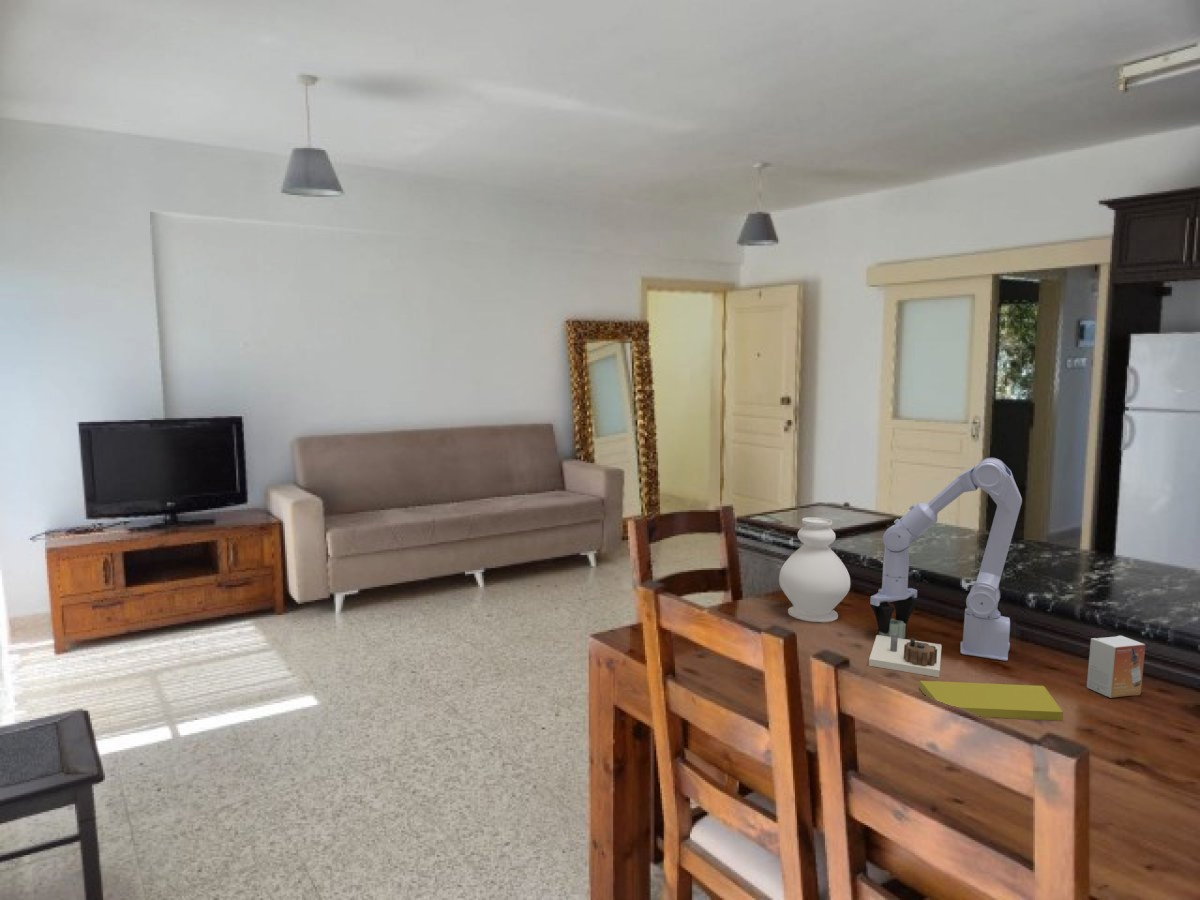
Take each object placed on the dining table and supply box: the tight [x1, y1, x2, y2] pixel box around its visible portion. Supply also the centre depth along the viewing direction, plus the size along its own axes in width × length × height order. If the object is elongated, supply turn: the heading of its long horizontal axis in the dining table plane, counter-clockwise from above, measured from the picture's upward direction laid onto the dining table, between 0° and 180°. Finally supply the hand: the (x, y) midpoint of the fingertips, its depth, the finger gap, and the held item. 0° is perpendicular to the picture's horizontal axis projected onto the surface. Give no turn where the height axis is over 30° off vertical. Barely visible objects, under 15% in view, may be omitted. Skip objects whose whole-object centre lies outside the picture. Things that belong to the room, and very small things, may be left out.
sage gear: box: [878, 618, 907, 639], centre depth 187 cm, size 6×6×3 cm
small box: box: [1086, 635, 1146, 699], centre depth 156 cm, size 8×6×10 cm
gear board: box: [868, 633, 942, 678], centre depth 172 cm, size 14×17×6 cm
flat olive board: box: [919, 680, 1064, 722], centre depth 149 cm, size 12×2×24 cm
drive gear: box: [904, 637, 937, 666], centre depth 167 cm, size 6×6×4 cm
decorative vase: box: [778, 516, 851, 623], centre depth 201 cm, size 18×18×25 cm
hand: (892, 630), depth 187 cm, fingers closed on sage gear, 6 cm apart
